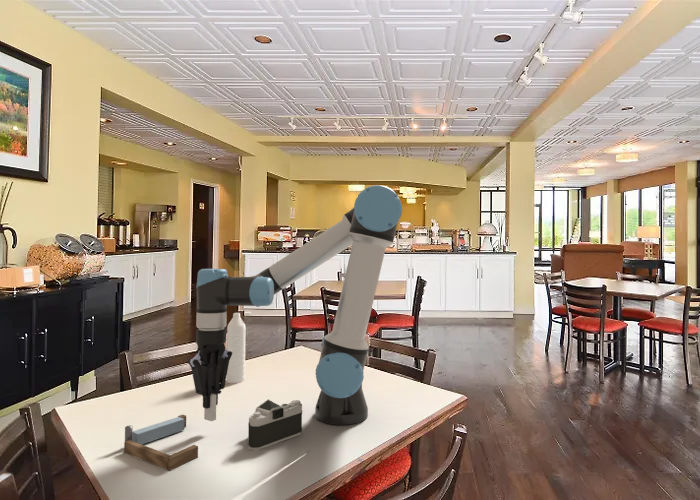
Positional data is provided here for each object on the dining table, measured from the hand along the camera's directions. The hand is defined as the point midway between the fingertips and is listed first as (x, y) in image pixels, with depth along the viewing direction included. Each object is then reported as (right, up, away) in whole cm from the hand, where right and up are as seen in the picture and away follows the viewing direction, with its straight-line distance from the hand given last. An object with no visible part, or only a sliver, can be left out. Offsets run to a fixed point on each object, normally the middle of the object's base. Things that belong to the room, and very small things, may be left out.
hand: (210, 419), depth 116 cm
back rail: (-9, -3, -16) cm, 18 cm away
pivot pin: (-16, -3, -10) cm, 19 cm away
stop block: (-9, -3, +3) cm, 10 cm away
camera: (+17, -4, -2) cm, 17 cm away
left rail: (-1, -3, -17) cm, 17 cm away
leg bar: (-12, -3, -4) cm, 13 cm away
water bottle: (-4, -4, +46) cm, 46 cm away
